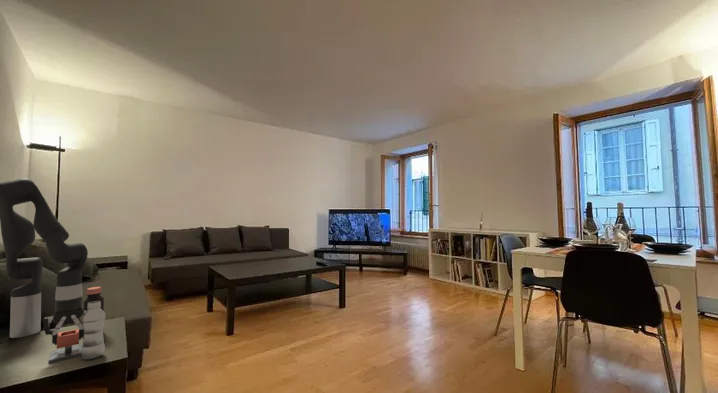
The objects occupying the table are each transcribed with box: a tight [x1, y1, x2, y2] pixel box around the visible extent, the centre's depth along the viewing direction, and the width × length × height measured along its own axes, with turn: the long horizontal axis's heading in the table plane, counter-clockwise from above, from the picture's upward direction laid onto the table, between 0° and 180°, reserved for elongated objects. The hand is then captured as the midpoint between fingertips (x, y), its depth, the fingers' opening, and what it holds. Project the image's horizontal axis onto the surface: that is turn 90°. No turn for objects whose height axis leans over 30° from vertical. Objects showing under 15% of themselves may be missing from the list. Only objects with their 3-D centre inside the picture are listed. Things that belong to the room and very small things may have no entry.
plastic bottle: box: [81, 301, 107, 360], centre depth 114 cm, size 6×7×20 cm
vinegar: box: [82, 286, 105, 332], centre depth 136 cm, size 7×7×20 cm
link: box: [56, 328, 80, 350], centre depth 117 cm, size 6×6×4 cm
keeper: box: [47, 343, 83, 365], centre depth 117 cm, size 10×10×7 cm
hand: (68, 341), depth 117 cm, fingers closed on link, 6 cm apart
